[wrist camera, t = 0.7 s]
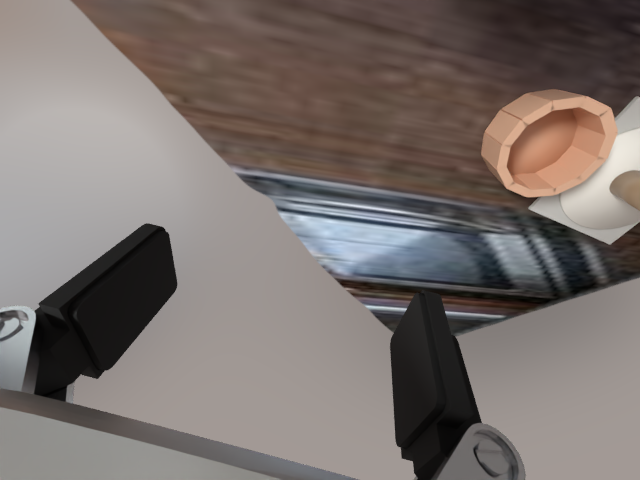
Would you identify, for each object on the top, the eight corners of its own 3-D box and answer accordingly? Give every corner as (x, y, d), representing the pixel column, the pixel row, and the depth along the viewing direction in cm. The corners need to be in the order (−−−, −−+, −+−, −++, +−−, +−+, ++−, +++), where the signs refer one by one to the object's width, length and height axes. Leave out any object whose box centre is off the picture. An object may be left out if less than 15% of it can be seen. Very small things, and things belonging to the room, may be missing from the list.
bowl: (525, 74, 32) (551, 79, 28) (604, 112, 33) (644, 123, 28) (464, 159, 39) (477, 175, 34) (532, 189, 40) (554, 209, 35)
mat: (636, 96, 32) (639, 96, 32) (734, 144, 33) (738, 145, 33) (528, 207, 41) (529, 209, 41) (607, 242, 42) (609, 244, 42)
